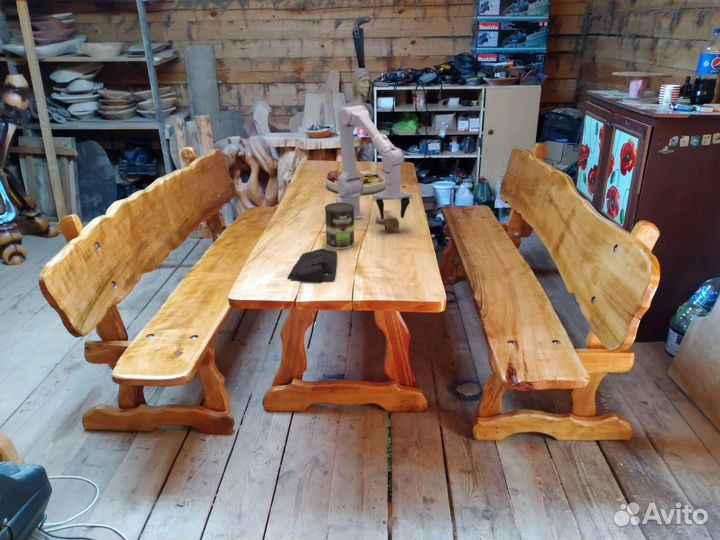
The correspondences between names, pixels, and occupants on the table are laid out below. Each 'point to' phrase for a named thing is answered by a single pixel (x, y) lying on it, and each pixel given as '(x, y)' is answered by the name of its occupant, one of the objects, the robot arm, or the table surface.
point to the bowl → (370, 180)
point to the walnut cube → (391, 225)
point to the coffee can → (339, 225)
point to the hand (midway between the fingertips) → (392, 217)
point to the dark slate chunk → (315, 267)
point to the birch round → (386, 216)
